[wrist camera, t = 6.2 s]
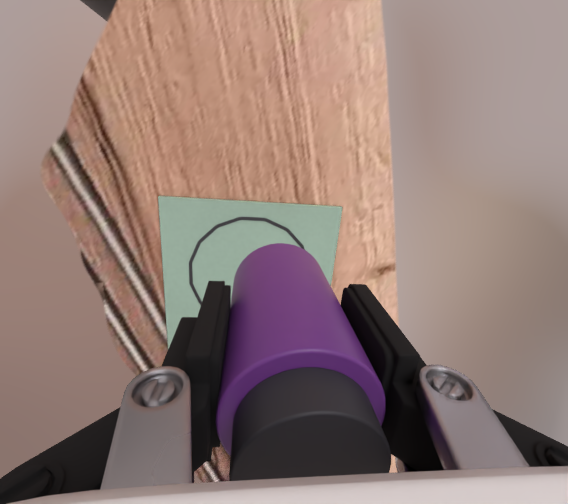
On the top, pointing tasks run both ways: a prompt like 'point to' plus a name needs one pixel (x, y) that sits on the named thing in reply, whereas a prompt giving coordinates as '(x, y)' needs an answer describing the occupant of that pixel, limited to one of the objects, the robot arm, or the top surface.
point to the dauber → (296, 376)
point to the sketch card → (232, 243)
